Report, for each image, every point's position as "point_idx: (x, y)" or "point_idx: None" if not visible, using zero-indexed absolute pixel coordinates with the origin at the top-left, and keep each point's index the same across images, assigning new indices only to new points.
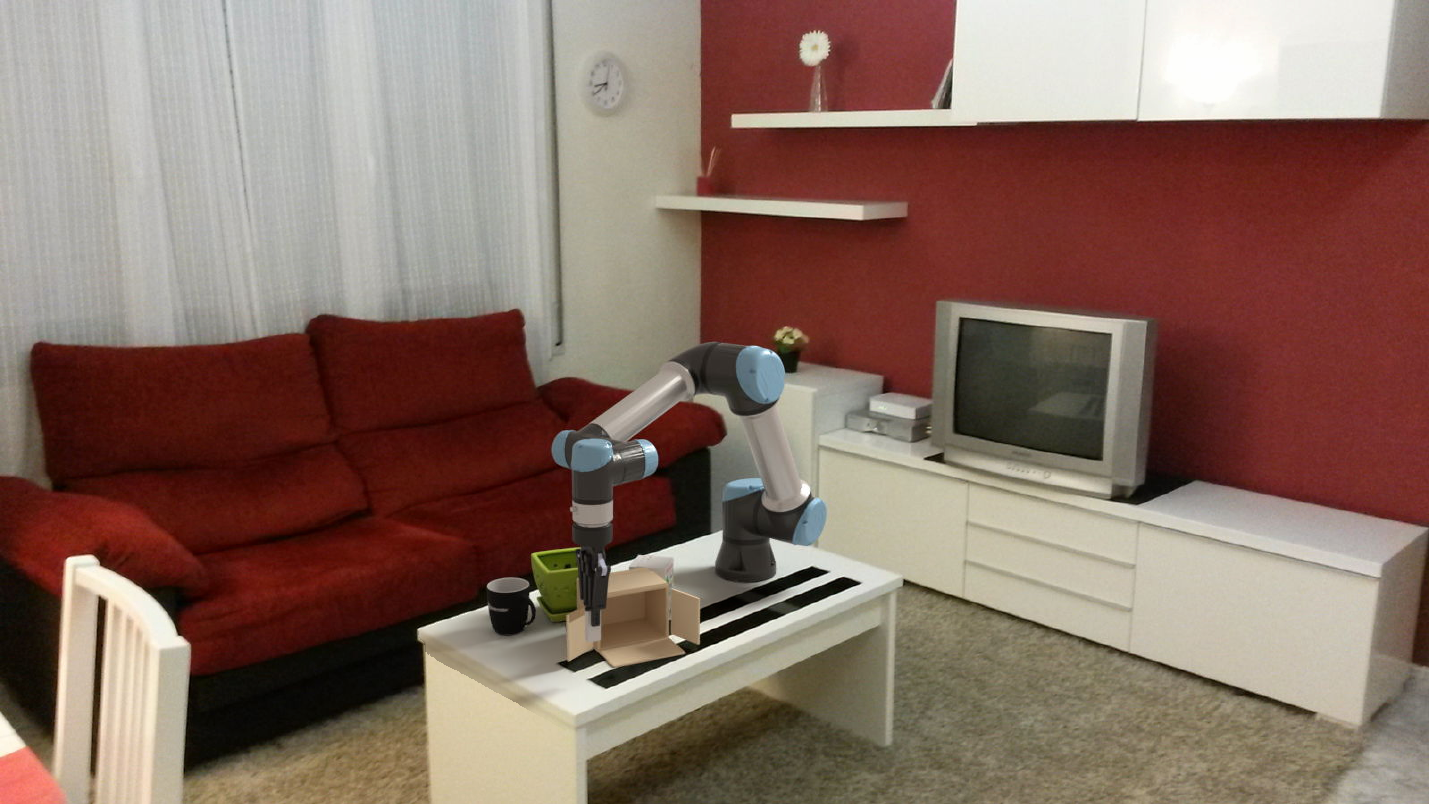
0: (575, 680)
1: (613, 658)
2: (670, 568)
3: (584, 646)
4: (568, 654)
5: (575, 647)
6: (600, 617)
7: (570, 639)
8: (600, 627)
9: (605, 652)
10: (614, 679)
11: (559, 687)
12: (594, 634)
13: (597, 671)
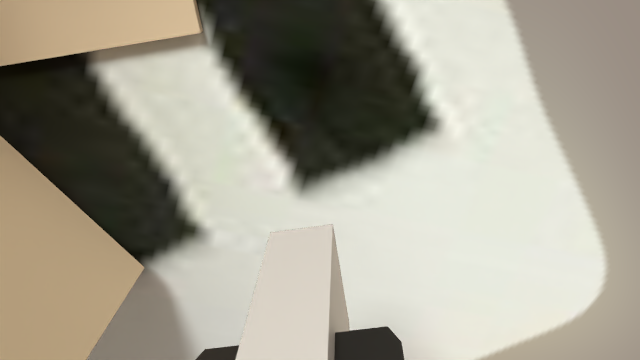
0: None
1: (94, 11)
2: None
3: (21, 184)
4: (129, 288)
5: (76, 255)
6: (330, 352)
7: (82, 325)
8: (331, 286)
9: (3, 38)
10: (346, 61)
11: (352, 323)
12: (340, 306)
13: (223, 126)
